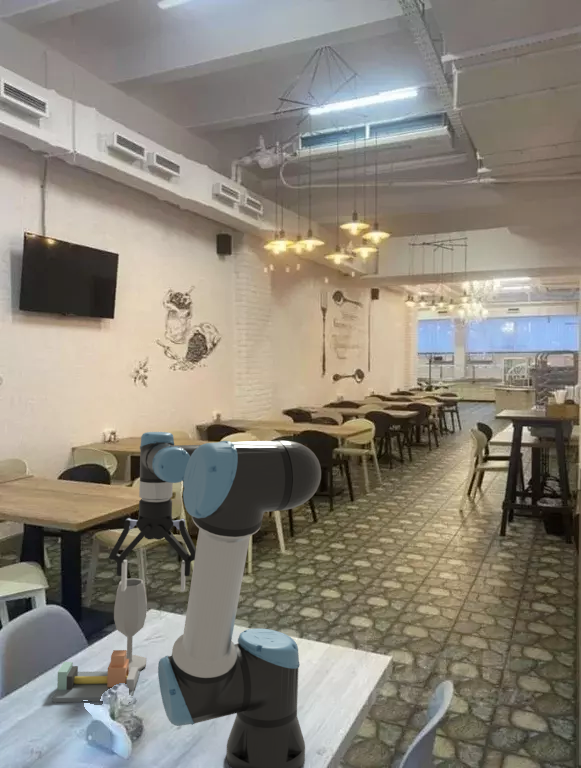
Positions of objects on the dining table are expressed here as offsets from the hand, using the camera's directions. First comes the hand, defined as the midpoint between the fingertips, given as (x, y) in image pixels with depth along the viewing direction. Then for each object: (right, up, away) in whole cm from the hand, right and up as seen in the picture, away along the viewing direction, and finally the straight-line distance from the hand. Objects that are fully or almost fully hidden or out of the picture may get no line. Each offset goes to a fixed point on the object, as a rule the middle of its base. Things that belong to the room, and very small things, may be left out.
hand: (153, 589), depth 145 cm
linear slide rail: (-13, -22, -1) cm, 26 cm away
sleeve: (-8, -21, -1) cm, 23 cm away
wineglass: (-8, -23, +10) cm, 26 cm away
